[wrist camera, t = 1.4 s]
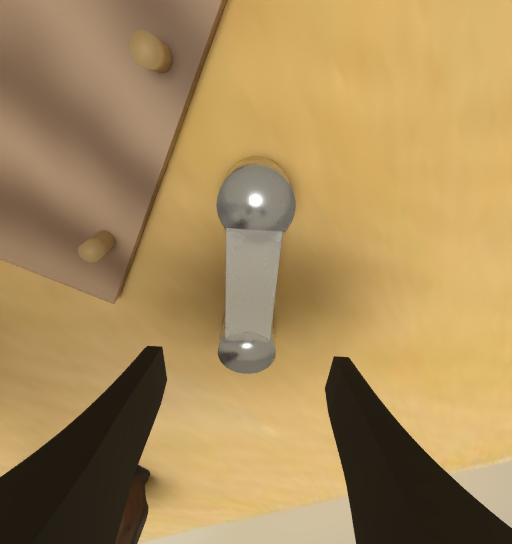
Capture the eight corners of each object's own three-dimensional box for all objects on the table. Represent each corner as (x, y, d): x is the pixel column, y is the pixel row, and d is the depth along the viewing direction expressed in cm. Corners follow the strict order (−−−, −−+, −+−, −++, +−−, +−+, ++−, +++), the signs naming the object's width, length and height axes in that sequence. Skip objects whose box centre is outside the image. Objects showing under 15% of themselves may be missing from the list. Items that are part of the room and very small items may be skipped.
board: (119, 295, 21) (99, 322, 18) (-46, 229, 18) (-96, 248, 16) (240, -39, 12) (235, -79, 9) (-48, -257, 10) (-164, -394, 7)
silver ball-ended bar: (271, 343, 23) (272, 374, 21) (223, 340, 23) (218, 371, 20) (293, 158, 16) (300, 169, 13) (223, 154, 16) (216, 163, 13)
